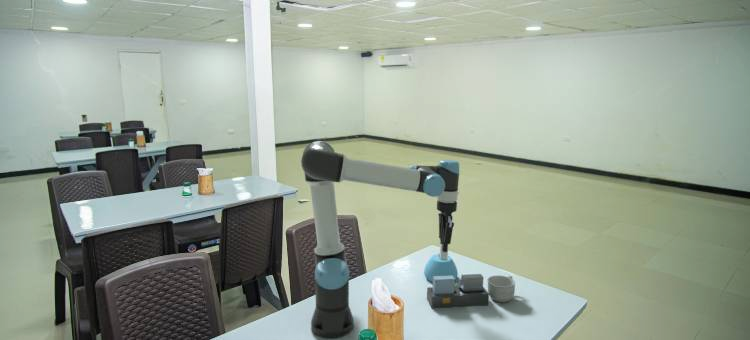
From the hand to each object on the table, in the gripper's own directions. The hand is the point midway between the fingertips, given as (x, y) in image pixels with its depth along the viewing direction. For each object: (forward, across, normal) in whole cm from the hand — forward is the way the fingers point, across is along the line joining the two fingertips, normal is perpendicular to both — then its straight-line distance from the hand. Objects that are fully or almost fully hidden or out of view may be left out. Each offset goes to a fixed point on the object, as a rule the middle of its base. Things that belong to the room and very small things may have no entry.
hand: (443, 258), depth 161 cm
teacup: (+18, +1, -26) cm, 32 cm away
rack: (+18, -1, -6) cm, 19 cm away
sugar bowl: (+19, +21, -6) cm, 29 cm away
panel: (+17, -1, 0) cm, 17 cm away
